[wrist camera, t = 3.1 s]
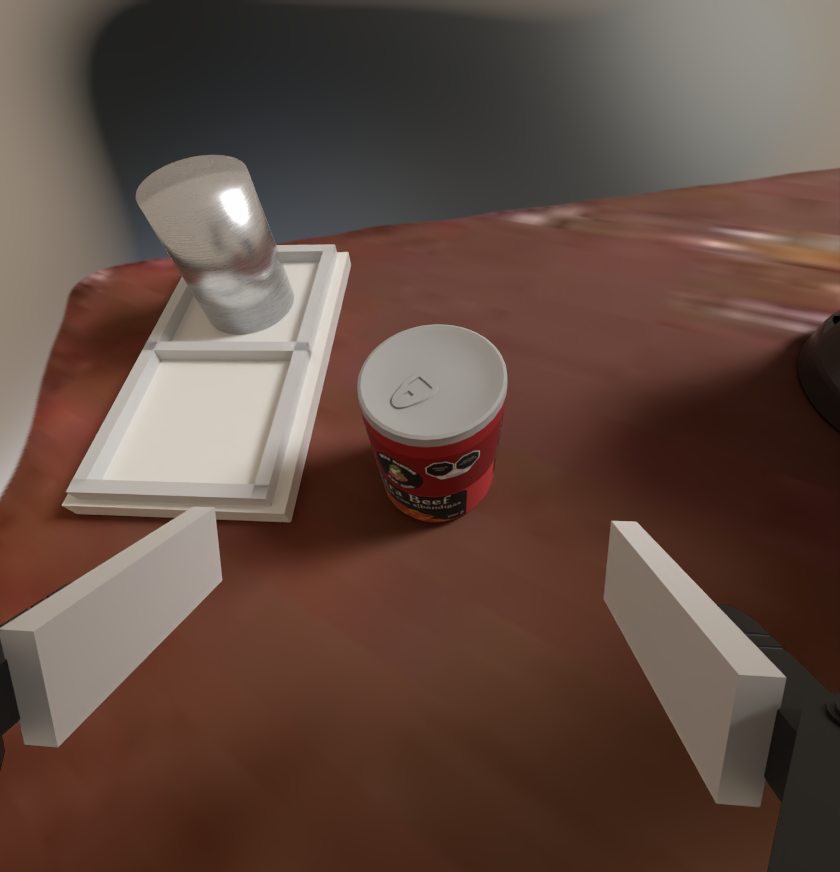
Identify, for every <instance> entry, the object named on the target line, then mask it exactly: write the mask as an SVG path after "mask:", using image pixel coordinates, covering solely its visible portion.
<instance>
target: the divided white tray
mask: <svg viewBox="0 0 840 872" xmlns="http://www.w3.org/2000/svg"><path fill="white" fill-rule="evenodd" d="M276 247H277V250H278V252H279V255H280V258H281V260H282V263H283V266H284V268H285V271H286V274H287V276H288V279H289V282H290V284H291V287H292V290H293V292H294V301H293V305H292V307H291V309H290V311H289V312H288V313H287V314H286V316H285V317H284V318H283V319H281V320H280V321H279V322H277V323H276V324H274V325H273V326H271V327H269V328H267V329H265V330H262V331H259V332H256V333H251V334H244V335H234V334H228V333H224V332H222V331H219V330H218V329H216V328H215V327H214V326H213V325H212V324H211V323H210V321H209V320H208V318H207V316H206V315H205V313H204V311H203V310H202V308H201V307H200V305H199V303H198V302H197V300H196V298H195V297H194V295H193V293H192V292H191V290H190V288H189V287H188V285H187V284H186V282H185V280H184V279H183V277H182V278H181V279H180V281H179V283H178V285H177V287H176V289H175V291H174V292H173V294H172V296H171V298H170V300H169V302H168V304H167V305H166V307H165V309H164V311H163V313H162V315H161V316H160V318H159V320H158V322H157V324H156V326H155V328H154V329H153V331H152V333H151V335H150V337H149V339H148V341H147V342H146V344H145V346H144V348H143V350H142V352H141V353H140V355H139V357H138V359H137V361H136V363H135V365H134V366H133V368H132V370H131V372H130V374H129V376H128V378H127V379H126V381H125V383H124V385H123V387H122V389H121V390H120V392H119V394H118V396H117V398H116V400H115V402H114V403H113V405H112V407H111V409H110V411H109V413H108V415H107V416H106V418H105V420H104V422H103V424H102V426H101V427H100V429H99V431H98V433H97V435H96V437H95V439H94V440H93V442H92V444H91V446H90V448H89V450H88V452H87V453H86V455H85V457H84V459H83V461H82V463H81V465H80V466H79V468H78V470H77V472H76V474H75V476H74V477H73V479H72V481H71V483H70V485H69V487H68V489H67V490H66V493H68V494H67V496H66V498H65V500H64V502H63V504H62V505H61V506H63V507H65V508H67V509H69V510H70V511H72V512H74V513H76V514H90V515H115V516H141V517H166V518H176V517H178V516H179V515H181V514H182V513H184V512H186V511H187V510H189V509H190V508H192V507H215V515H216V519H217V520H243V521H268V522H291V521H292V517H293V513H294V508H295V504H296V500H297V495H298V491H299V487H300V482H301V478H302V474H303V470H304V465H305V461H306V457H307V452H308V448H309V444H310V439H311V435H312V431H313V427H314V422H315V418H316V414H317V409H318V405H319V401H320V396H321V392H322V388H323V384H324V379H325V375H326V371H327V366H328V362H329V358H330V353H331V349H332V345H333V341H334V336H335V332H336V328H337V323H338V319H339V315H340V311H341V306H342V302H343V298H344V293H345V289H346V285H347V280H348V276H349V272H350V268H351V262H350V258H349V253H348V252H337V251H336V247H335V244H334V245H277V246H276Z"/></svg>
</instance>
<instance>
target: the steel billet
mask: <svg viewBox="0 0 840 872" xmlns="http://www.w3.org/2000/svg"><path fill="white" fill-rule="evenodd" d="M136 201H137V203H138V205H139V206H140V208H141V210H142V211H143V213H144V214H145V216H146V218H147V220H148V221H149V223H150V224H151V226H152V228H153V229H154V231H155V233H156V234H157V236H158V237H159V239H160V241H161V243H162V244H163V246H164V247H165V249H166V251H167V252H168V254H169V256H170V257H171V259H172V261H173V262H174V264H175V266H176V267H177V269H178V270H179V272H180V274H181V275H182V277H183V279H184V280H185V282H186V284H187V285H188V287H189V288H190V290H191V292H192V293H193V295H194V297H195V298H196V300H197V302H198V303H199V305H200V307H201V308H202V310H203V311H204V313H205V315H206V316H207V318H208V320H209V321H210V323H211V324H212V325H213V326H214V327H215V328H216V329H218V330H219V331H222V332H224V333H228V334H234V335H244V334H251V333H256V332H259V331H262V330H265V329H267V328H269V327H271V326H273V325H274V324H276V323H277V322H279V321H280V320H281V319H283V318H284V317H285V316H286V314H287V313H288V312H289V311H290V309H291V307H292V305H293V301H294V292H293V290H292V287H291V284H290V282H289V279H288V276H287V274H286V271H285V268H284V266H283V263H282V260H281V258H280V255H279V252H278V250H277V247H276V244H275V242H274V239H273V236H272V233H271V231H270V228H269V225H268V223H267V220H266V218H265V215H264V212H263V210H262V207H261V204H260V202H259V199H258V196H257V194H256V191H255V188H254V185H253V183H252V180H251V177H250V175H249V172H248V169H247V167H246V166H245V164H244V163H243V162H241V161H240V160H238V159H236V158H233V157H229V156H223V155H203V156H196V157H191V158H187V159H183V160H180V161H176V162H174V163H171V164H169V165H167V166H165V167H163V168H161V169H159V170H157V171H156V172H154V173H152V174H151V175H150V176H148V177H147V178H146V179H145V180H144V181H143V182H142V183H141V184H140V186H139V188H138V190H137V192H136Z"/></svg>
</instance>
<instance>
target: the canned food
mask: <svg viewBox="0 0 840 872" xmlns="http://www.w3.org/2000/svg"><path fill="white" fill-rule="evenodd" d="M357 389H358V398H359V405H360V409H361V412H362V416H363V420H364V424H365V427H366V430H367V433H368V436H369V440H370V443H371V446H372V449H373V453H374V456H375V459H376V462H377V466H378V469H379V472H380V475H381V479H382V482H383V485H384V488H385V490H386V493H387V495H388V497H389V498H390V500H391V501H392V503H393V504H394V505H395V506H396V507H397V508H398V509H400V510H401V511H402V512H404V513H405V514H407V515H409V516H411V517H412V518H414V519H418V520H421V521H424V522H432V523H436V522H446V521H450V520H454V519H457V518H459V517H461V516H463V515H465V514H466V513H468V512H469V511H471V510H472V509H473V508H475V507H476V506H477V505H478V504H479V503H480V501H481V500H482V499H483V498H484V497H485V495H486V493H487V492H488V490H489V488H490V485H491V482H492V479H493V473H494V467H495V461H496V455H497V449H498V443H499V438H500V432H501V426H502V420H503V414H504V408H505V400H506V392H507V371H506V365H505V363H504V360H503V358H502V355H501V354H500V353H499V351H498V350H497V348H496V347H495V346H494V345H493V344H492V343H491V342H490V341H488V340H487V339H486V338H485V337H483V336H481V335H479V334H478V333H476V332H474V331H471V330H468V329H466V328H463V327H458V326H453V325H441V324H435V325H424V326H419V327H414V328H410V329H408V330H405V331H402V332H400V333H397V334H396V335H394V336H392V337H390V338H388V339H387V340H385V341H384V342H383V343H381V344H380V345H379V346H377V347H376V348H375V350H374V351H373V352H372V353H371V354H370V355H369V356H368V358H367V359H366V361H365V363H364V364H363V366H362V368H361V371H360V374H359V377H358V386H357Z"/></svg>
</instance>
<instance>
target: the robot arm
mask: <svg viewBox="0 0 840 872" xmlns="http://www.w3.org/2000/svg"><path fill="white" fill-rule="evenodd" d="M798 373H799V378H800V381H801V384H802V386H803V388H804V391H805V392H806V394H807V396H808V398H809V399H810V401H811V402H812V403H813V405H814V406H815V407H816V409H817V410H818V411H819V412H820V413H821V414H822V416H823V417H824V418H825V419H826V420H827V421H828V422H829V423H831V424H832V425H833V426H834V427H835V428H836V429H837V430H839V431H840V310H839V311H837V312H836V313H834V314H833V315H831V316H830V317H829V318H828V319H827V320H825V321H824V322H823V323H822V324H821V326H820V327H819V328H818V329H817V330H816V331H815V332H814V333H813V334H812V335H811V336H810V337H809V338H808V340H807V341H806V342H805V343H804V345H803V346H802V348H801V350H800V353H799V357H798ZM221 581H222V572H221V563H220V553H219V544H218V534H217V524H216V515H215V507H192V508H190V509H189V510H187V511H186V512H184V513H182V514H181V515H179V516H178V517H176V518H174V519H173V520H171V521H170V522H168V523H166V524H165V525H163V526H162V527H160V528H158V529H157V530H155V531H154V532H152V533H150V534H149V535H147V536H146V537H144V538H143V539H141V540H139V541H138V542H136V543H135V544H133V545H131V546H130V547H128V548H127V549H125V550H123V551H122V552H120V553H119V554H117V555H115V556H114V557H112V558H111V559H109V560H108V561H106V562H104V563H103V564H101V565H100V566H98V567H96V568H95V569H93V570H92V571H90V572H88V573H87V574H85V575H84V576H82V577H80V578H79V579H77V580H76V581H74V582H71V583H69V584H66V585H64V586H63V587H61V588H60V589H58V590H56V591H55V592H53V593H52V594H50V595H48V596H47V598H46V599H42V600H40V601H39V602H37V603H36V604H34V605H32V606H31V609H26V610H24V611H23V612H21V613H20V614H18V615H16V616H15V617H13V618H12V619H10V620H8V621H7V622H5V623H3V624H2V625H0V770H1V766H2V761H3V757H4V753H5V748H4V742H3V738H2V735H3V734H4V733H5V732H6V731H7V730H8V729H10V728H11V727H12V726H13V725H14V724H15V723H17V722H18V721H19V723H20V727H21V732H22V736H23V740H24V744H25V745H36V746H48V747H59V746H60V745H61V744H62V743H63V742H64V741H65V740H66V739H67V738H68V737H69V736H70V735H71V734H72V733H73V732H74V731H75V730H76V729H77V728H78V727H79V725H80V724H81V723H82V722H83V721H84V720H85V719H86V718H87V717H88V716H89V715H90V714H91V713H92V712H93V711H94V710H95V709H96V708H97V707H98V706H99V705H100V704H101V703H102V702H103V701H104V700H105V699H106V698H107V697H108V696H109V695H110V694H111V693H112V692H113V691H114V690H115V689H116V688H117V687H118V686H119V685H120V684H121V683H122V682H123V681H124V680H125V679H126V678H127V677H128V676H129V675H130V674H131V673H132V672H133V671H134V670H135V669H136V668H137V667H138V666H139V665H140V664H141V663H142V662H143V661H144V659H145V658H146V657H147V656H148V655H149V654H150V653H151V652H152V651H153V650H154V649H155V648H156V647H157V646H158V645H159V644H160V643H161V642H162V641H163V640H164V639H165V638H166V637H167V636H168V635H169V634H170V633H171V632H172V631H173V630H174V629H175V628H176V627H177V626H178V625H179V624H180V623H181V622H182V621H183V620H184V619H185V618H186V617H187V616H188V615H189V614H190V613H191V612H192V611H193V610H194V609H195V608H196V607H197V606H198V605H199V604H200V603H201V602H202V601H203V600H204V599H205V598H206V597H207V596H208V595H209V594H210V592H211V591H212V590H213V589H214V588H215V587H216V586H217V585H218V584H219V583H220V582H221ZM604 601H605V603H606V604H607V606H608V608H609V610H610V612H611V613H612V615H613V617H614V619H615V621H616V623H617V624H618V626H619V628H620V630H621V632H622V633H623V635H624V637H625V639H626V641H627V643H628V644H629V646H630V648H631V650H632V652H633V653H634V655H635V657H636V659H637V661H638V663H639V664H640V666H641V668H642V670H643V672H644V673H645V675H646V677H647V679H648V681H649V683H650V684H651V686H652V688H653V690H654V692H655V693H656V695H657V697H658V699H659V701H660V702H661V704H662V706H663V708H664V710H665V712H666V713H667V715H668V717H669V719H670V721H671V722H672V724H673V726H674V728H675V730H676V732H677V733H678V735H679V737H680V739H681V741H682V742H683V744H684V746H685V748H686V750H687V752H688V753H689V755H690V757H691V759H692V761H693V762H694V764H695V766H696V768H697V770H698V771H699V773H700V775H701V777H702V779H703V781H704V782H705V784H706V786H707V788H708V790H709V791H710V793H711V795H712V797H713V799H714V801H715V802H716V804H728V805H740V806H752V807H760V805H761V801H762V796H763V791H764V786H765V781H767V782H768V784H769V785H770V786H771V788H772V789H773V791H774V792H775V794H776V795H777V796H778V798H779V799H780V801H781V802H782V804H781V809H780V813H779V818H778V823H777V827H776V832H775V837H774V841H773V846H772V850H771V856H770V860H769V865H768V870H767V872H840V693H835V692H830V691H829V690H827V689H826V688H825V687H824V686H823V685H822V684H821V683H820V682H819V681H818V680H817V679H816V678H815V677H814V676H813V675H812V674H811V673H810V672H809V671H808V670H807V669H805V668H804V667H803V666H802V665H801V664H800V663H799V662H798V661H797V660H796V659H795V658H794V657H793V656H792V655H791V654H790V653H789V652H788V651H787V650H783V647H782V646H781V645H780V644H779V643H778V642H777V641H776V640H775V639H774V638H773V637H770V636H769V633H768V632H767V631H766V630H765V629H764V628H763V627H761V626H760V625H759V624H758V623H757V622H756V621H755V620H754V619H753V618H751V617H750V616H748V615H746V614H745V613H743V612H741V611H740V610H738V609H736V608H735V607H733V606H731V605H717V604H715V603H714V602H713V601H712V600H711V599H710V598H709V597H708V596H707V594H706V593H705V592H704V591H703V590H702V589H701V588H700V587H699V586H698V585H697V584H696V583H695V582H694V581H693V580H692V579H691V578H690V577H689V576H688V575H687V574H686V573H685V572H684V571H683V570H682V569H681V568H680V566H679V565H678V564H677V563H676V562H675V561H674V560H673V559H672V558H671V557H670V556H669V555H668V554H667V553H666V552H665V551H664V550H663V549H662V548H661V547H660V546H659V545H658V544H657V543H656V542H655V541H654V539H653V538H652V537H651V536H650V535H649V534H648V533H647V532H646V531H645V530H644V529H643V528H642V527H641V526H640V525H639V524H638V523H637V522H633V521H611V528H610V538H609V548H608V559H607V569H606V579H605V589H604Z"/></svg>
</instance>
